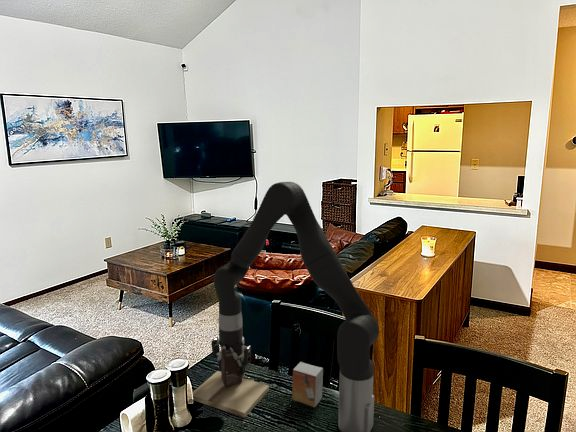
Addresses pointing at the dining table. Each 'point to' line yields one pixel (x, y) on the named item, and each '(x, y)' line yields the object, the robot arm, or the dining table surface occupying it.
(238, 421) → the dining table surface
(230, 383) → the box
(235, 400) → the plywood panel
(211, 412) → the dining table surface
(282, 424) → the dining table surface
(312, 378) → the small box
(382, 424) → the dining table surface
